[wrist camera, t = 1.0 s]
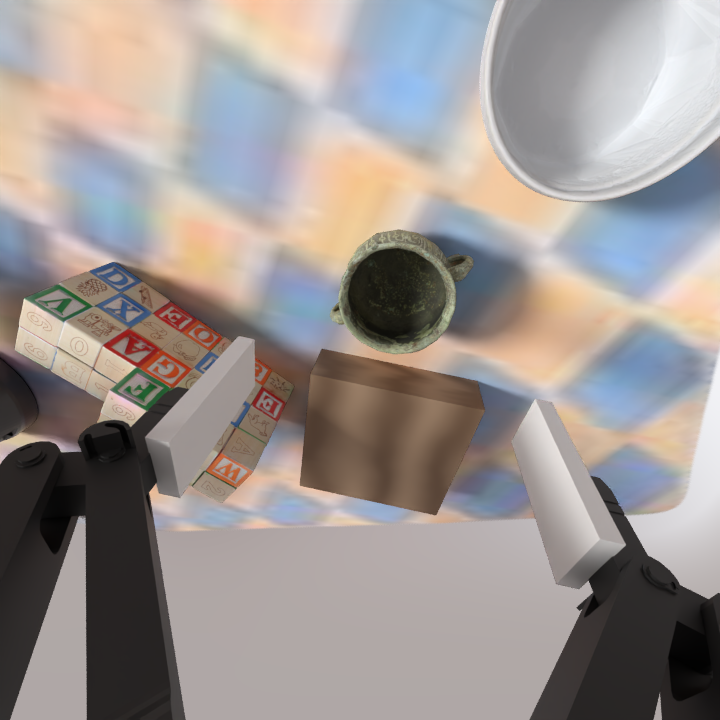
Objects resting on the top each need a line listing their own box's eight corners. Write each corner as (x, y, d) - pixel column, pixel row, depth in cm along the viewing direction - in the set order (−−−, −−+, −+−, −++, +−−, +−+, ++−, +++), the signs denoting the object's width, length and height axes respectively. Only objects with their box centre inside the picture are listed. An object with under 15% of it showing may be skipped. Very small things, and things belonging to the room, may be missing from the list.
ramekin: (442, 1, 21) (453, -54, 15) (707, -154, 17) (860, -310, 11) (489, 217, 27) (509, 237, 21) (694, 140, 23) (790, 138, 17)
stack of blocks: (98, 305, 36) (-29, 369, 26) (114, 259, 33) (-22, 311, 23) (269, 416, 42) (220, 506, 31) (297, 385, 38) (253, 474, 28)
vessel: (358, 338, 34) (348, 374, 29) (316, 255, 30) (295, 278, 25) (482, 295, 30) (495, 327, 25) (451, 193, 26) (460, 206, 21)
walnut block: (310, 453, 44) (299, 485, 40) (322, 346, 36) (310, 374, 31) (434, 479, 44) (436, 515, 40) (476, 378, 35) (485, 410, 31)
